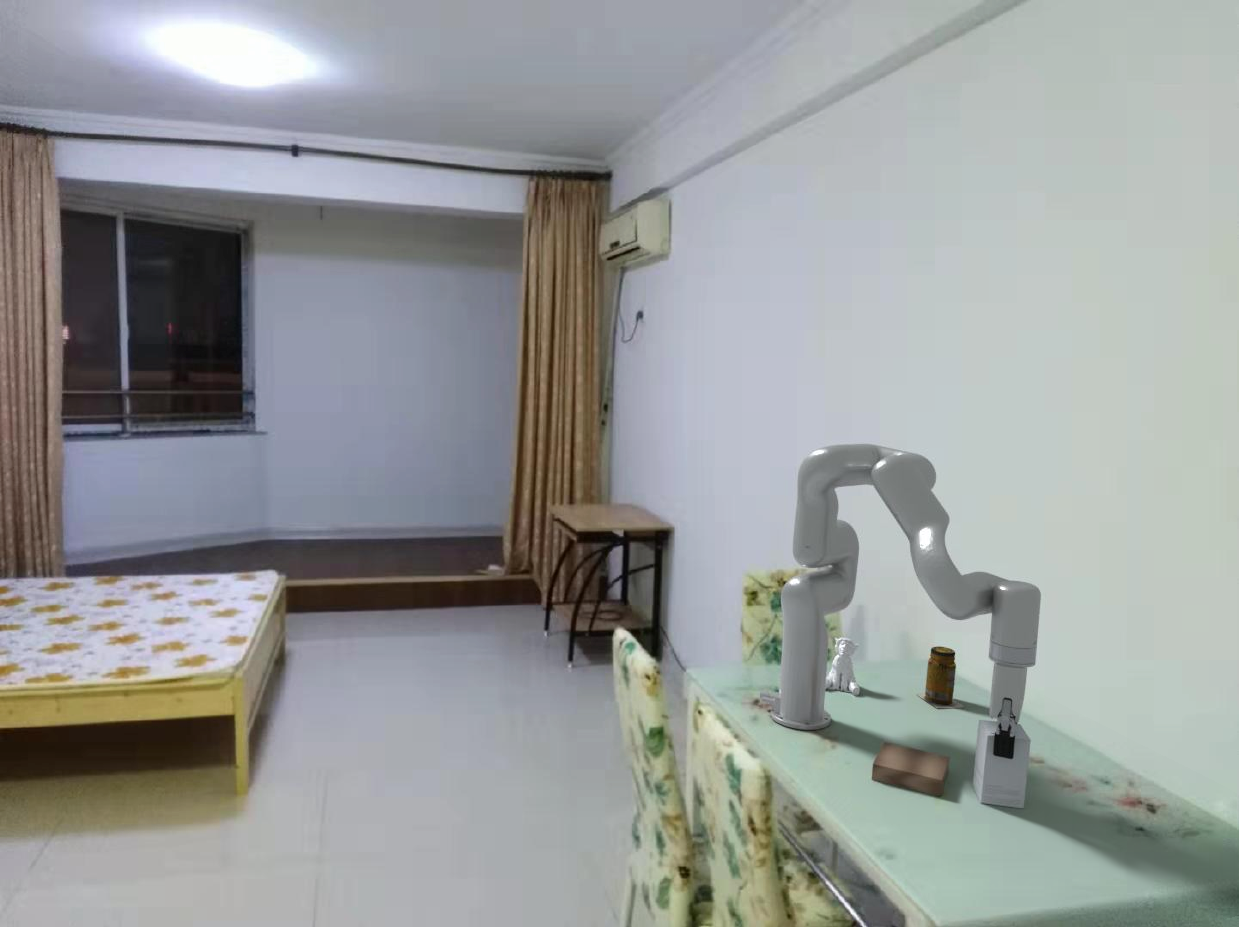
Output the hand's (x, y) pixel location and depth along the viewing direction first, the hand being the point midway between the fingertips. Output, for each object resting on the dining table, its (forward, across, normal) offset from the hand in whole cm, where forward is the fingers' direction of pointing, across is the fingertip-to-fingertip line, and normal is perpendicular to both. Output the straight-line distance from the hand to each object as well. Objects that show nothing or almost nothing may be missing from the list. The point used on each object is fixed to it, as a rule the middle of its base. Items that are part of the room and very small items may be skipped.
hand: (1004, 746), depth 155 cm
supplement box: (+10, 0, 0) cm, 10 cm away
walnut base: (+9, 0, -16) cm, 18 cm away
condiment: (+9, -43, -16) cm, 47 cm away
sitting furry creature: (+9, -39, -38) cm, 55 cm away
